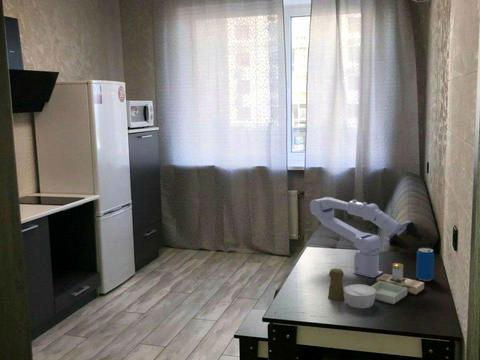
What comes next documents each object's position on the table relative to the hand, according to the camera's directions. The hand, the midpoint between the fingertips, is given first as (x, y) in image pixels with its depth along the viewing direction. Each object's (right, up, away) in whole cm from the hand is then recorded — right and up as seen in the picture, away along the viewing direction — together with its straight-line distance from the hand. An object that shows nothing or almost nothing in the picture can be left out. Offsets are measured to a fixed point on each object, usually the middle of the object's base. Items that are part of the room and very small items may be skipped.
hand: (415, 243), depth 195 cm
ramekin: (-24, -20, -12) cm, 34 cm away
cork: (-31, -19, -7) cm, 38 cm away
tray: (-13, -18, -6) cm, 23 cm away
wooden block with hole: (-5, -17, +3) cm, 18 cm away
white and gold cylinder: (-6, -17, +3) cm, 18 cm away
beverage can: (+7, -15, +10) cm, 20 cm away
